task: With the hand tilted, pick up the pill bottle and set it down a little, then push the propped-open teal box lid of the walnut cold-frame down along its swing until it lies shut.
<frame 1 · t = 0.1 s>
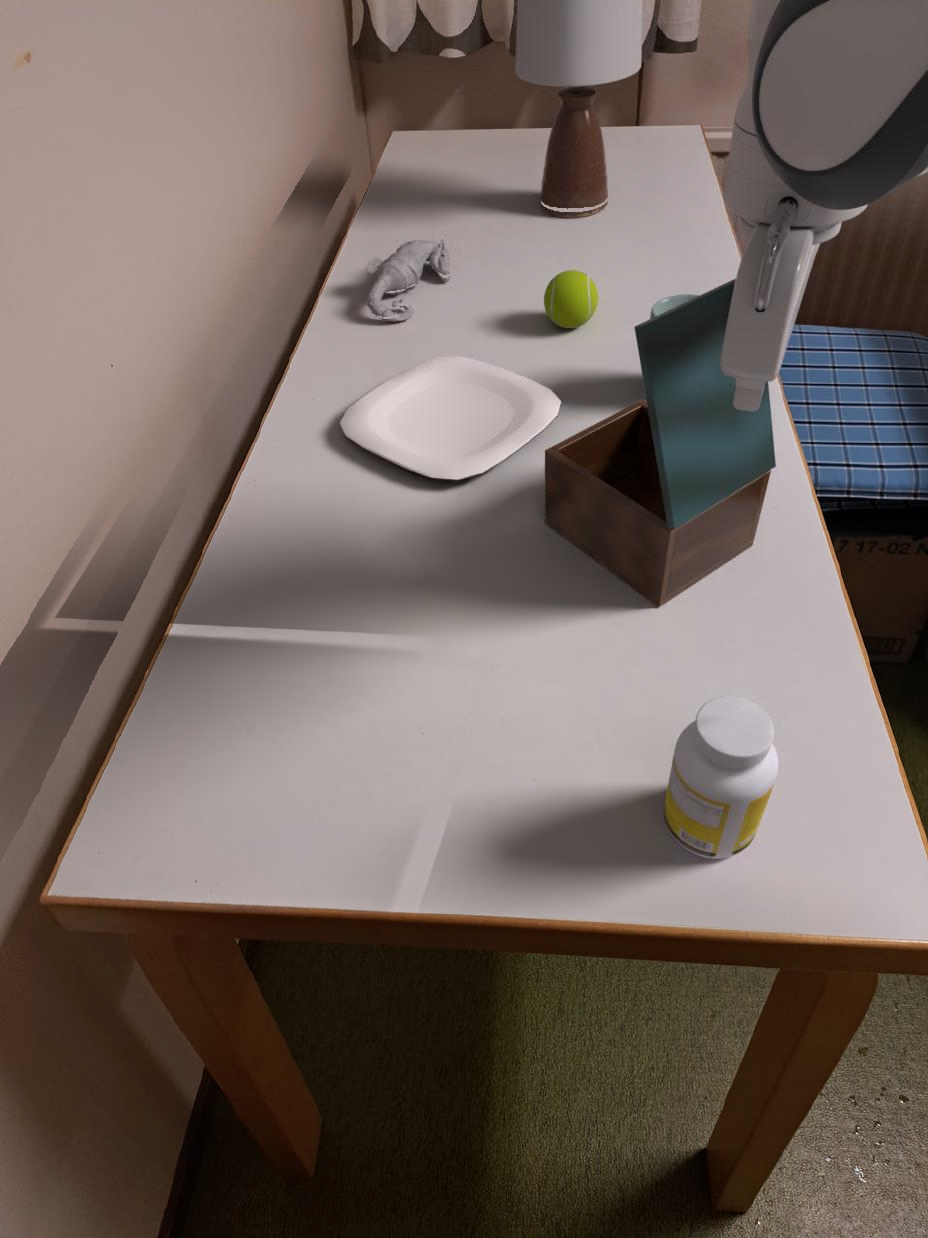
hand: (758, 371, 62), 21 cm above the table, tool pointing down, fingers open, 8 cm apart
teal box lid: (711, 402, 66), point 17 cm above the table, hinge at 70.3°
seahorse: (409, 293, 121), on the table
plate: (451, 424, 97), on the table
pill bottle: (707, 822, 60), on the table
tennis ball: (570, 326, 111), on the table
lamp: (573, 206, 139), on the table
coldframe: (645, 534, 82), on the table
cup: (676, 392, 99), on the table
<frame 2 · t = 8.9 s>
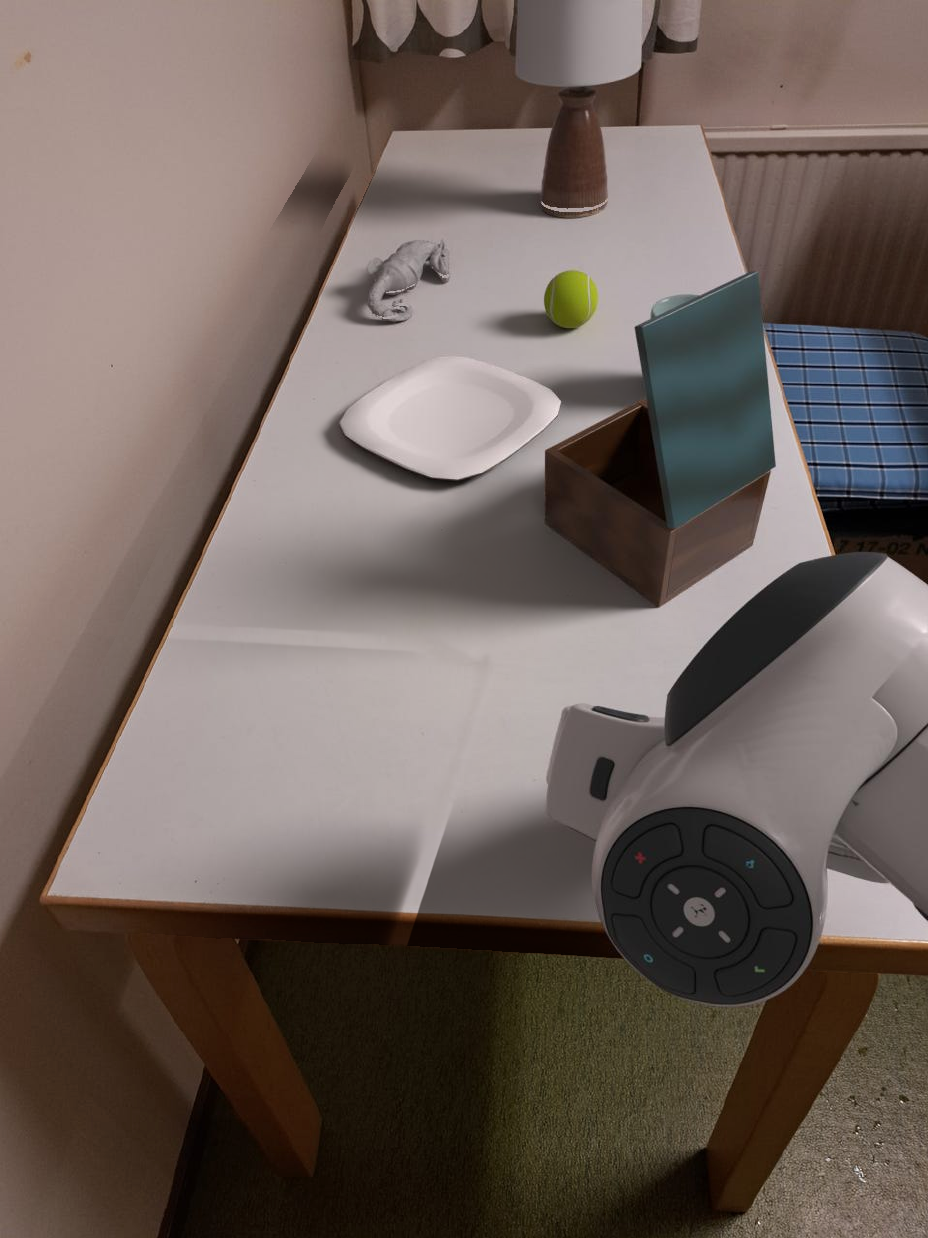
hand: (723, 764, 56), 6 cm above the table, tool tilted 45°, fingers closed on pill bottle, 6 cm apart
pill bottle: (707, 822, 60), on the table, touching gripper
everything else where it was.
when the fingers open (6 cm above the table, at t = 16.6 s): pill bottle stays where it is, on the table.
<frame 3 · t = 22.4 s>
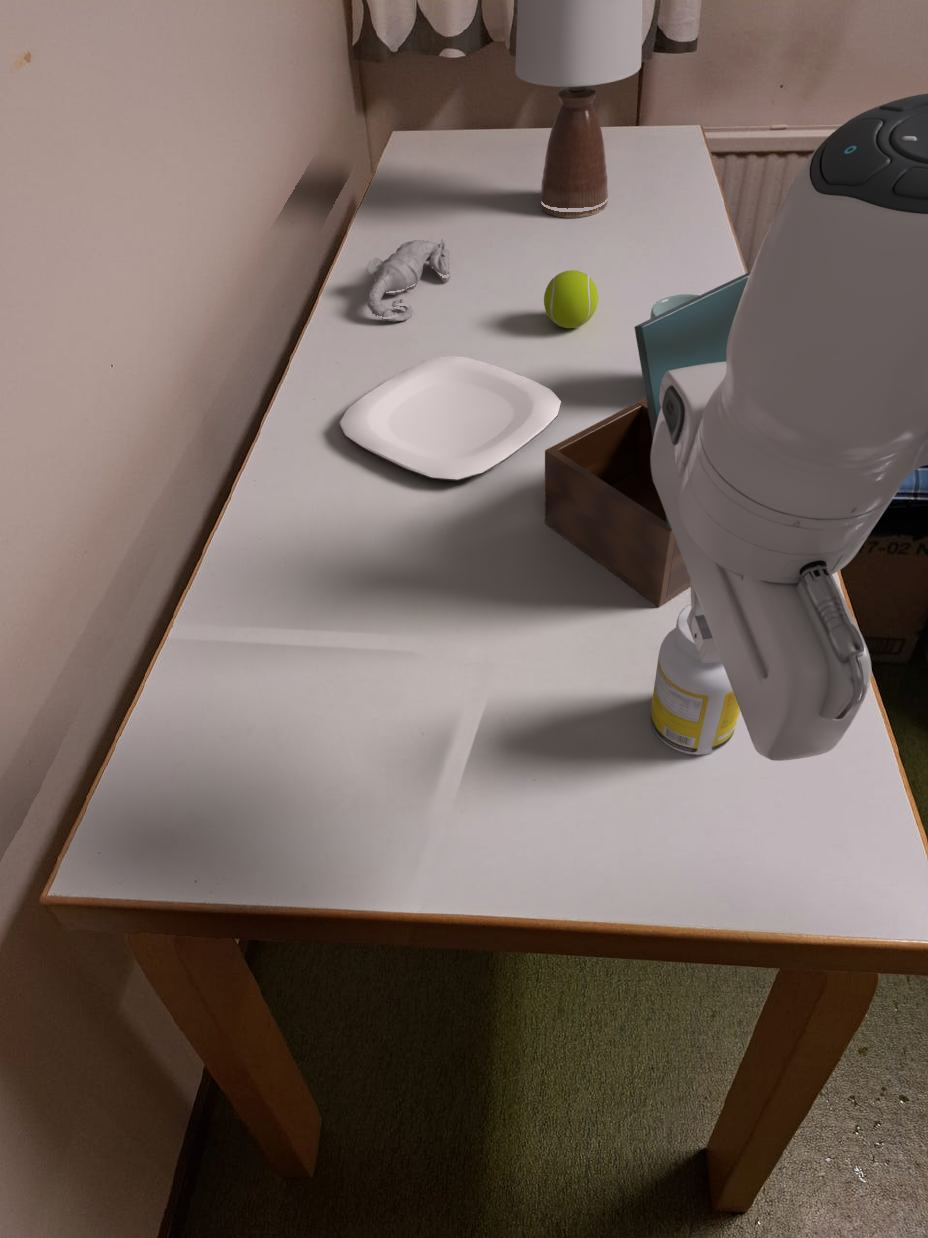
hand: (706, 641, 50), 16 cm above the table, tool pointing down, fingers closed
pill bottle: (690, 725, 66), on the table
everything else where it was.
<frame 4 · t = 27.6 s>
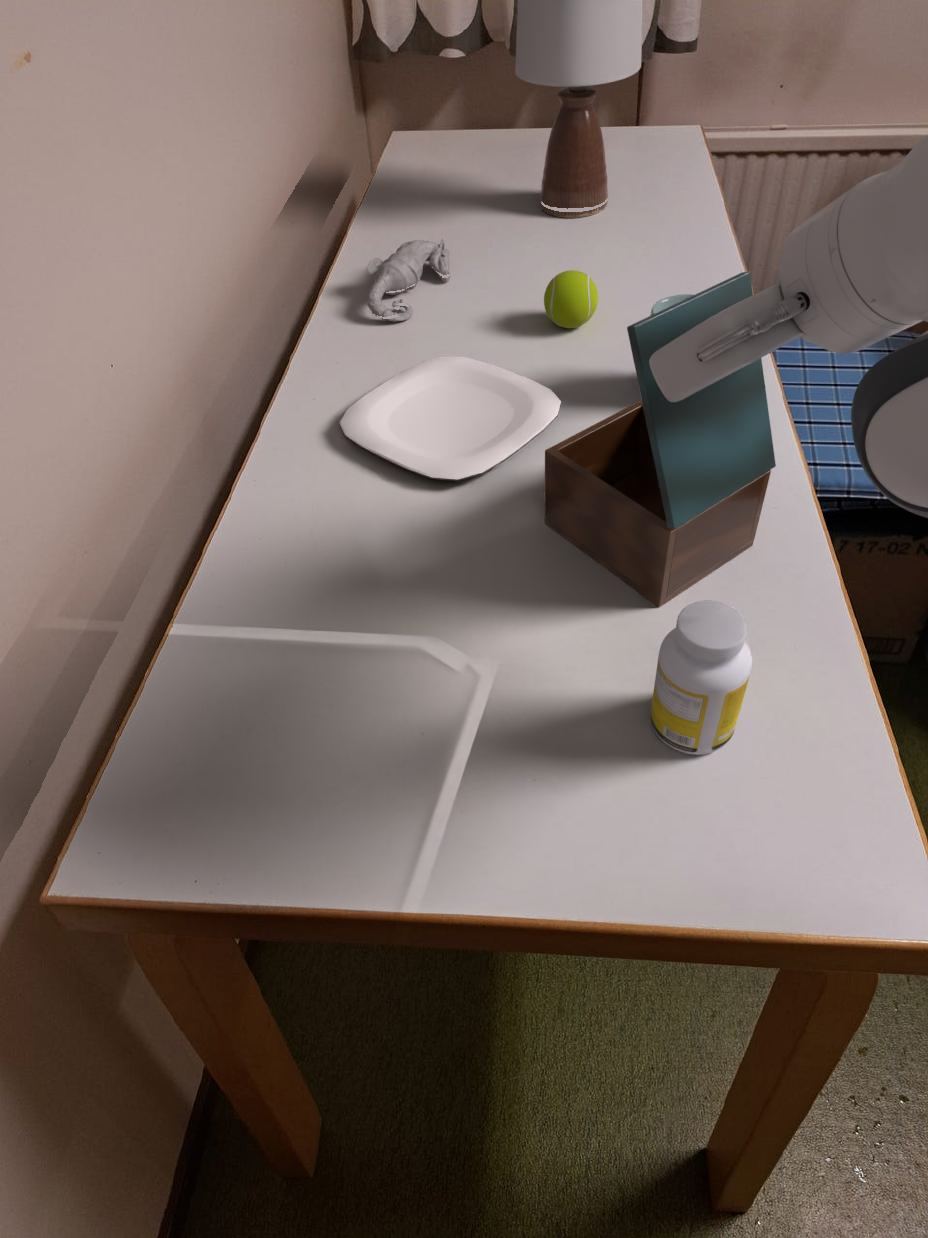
hand: (707, 358, 64), 20 cm above the table, tool tilted 45°, fingers closed, pressing on teal box lid
teal box lid: (707, 402, 67), point 17 cm above the table, hinge at 67.5°, touching gripper
everything else where it was.
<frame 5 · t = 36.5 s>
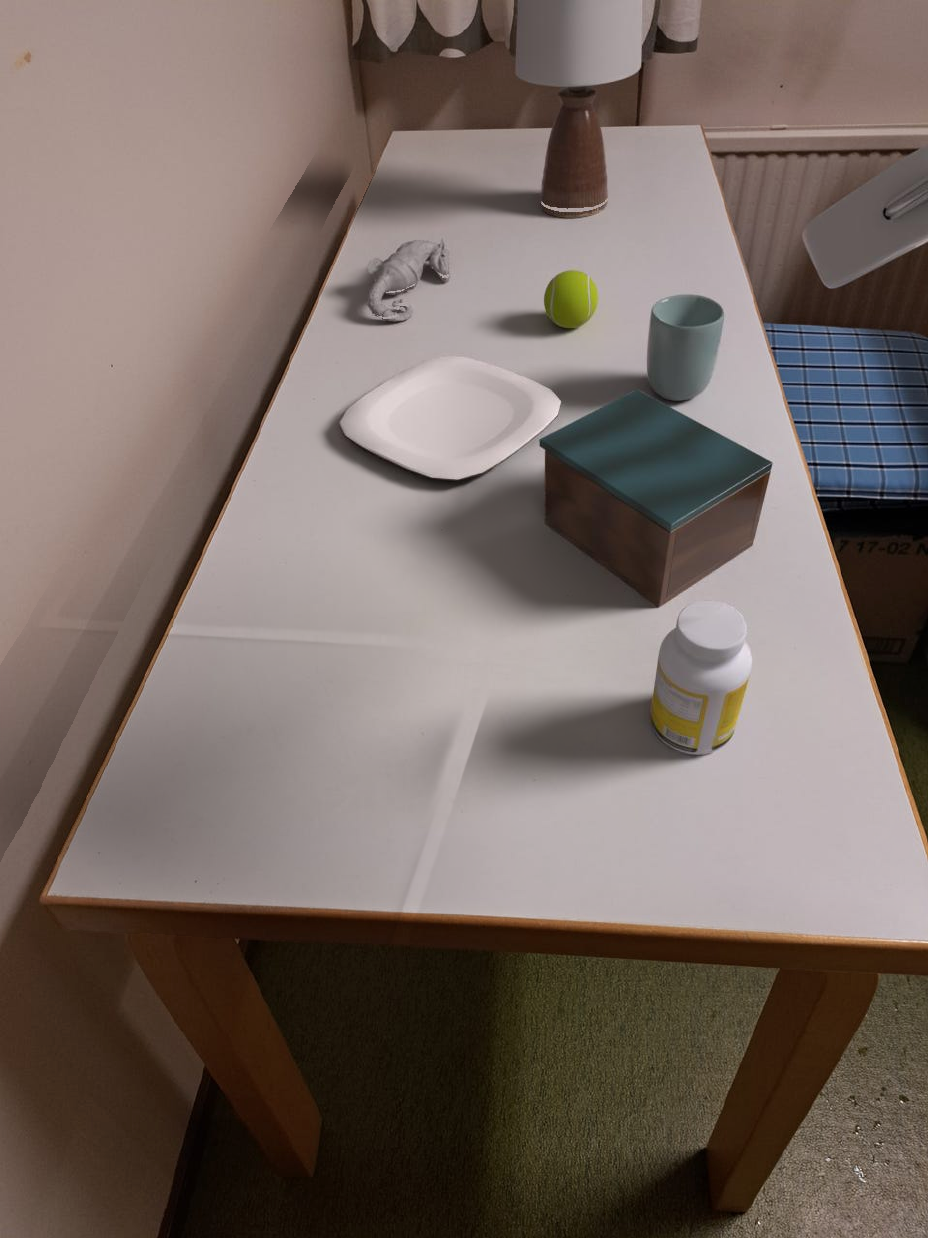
hand: (851, 251, 51), 31 cm above the table, tool tilted 45°, fingers closed
teal box lid: (652, 454, 75), point 9 cm above the table, hinge at -0.2°, touching coldframe
everything else where it was.
at the end: teal box lid at +0° (first picture: +70°); pill bottle inside the target area (0.0 cm from its centre), on the table; pill bottle tilted 0° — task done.
